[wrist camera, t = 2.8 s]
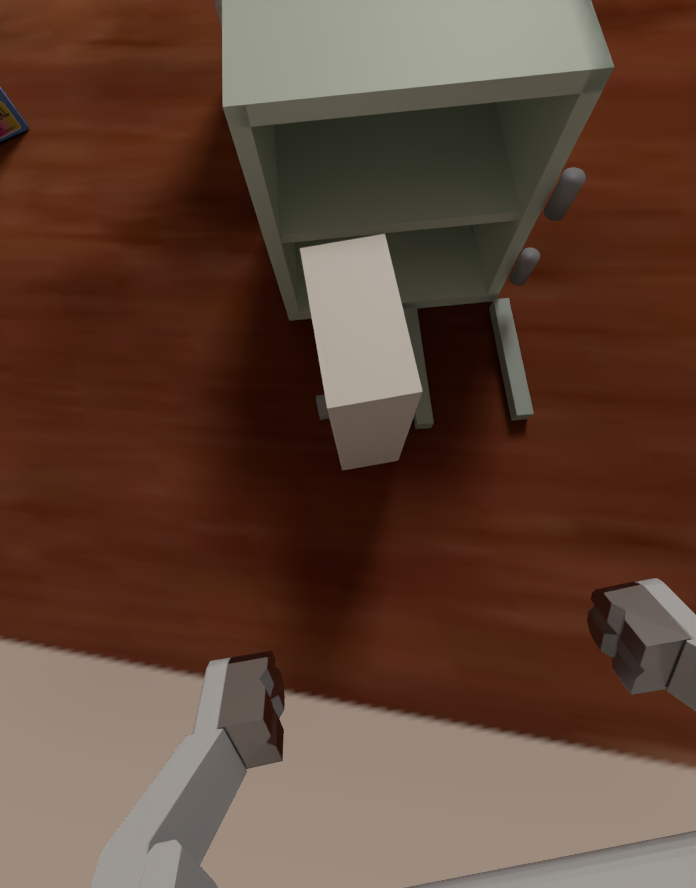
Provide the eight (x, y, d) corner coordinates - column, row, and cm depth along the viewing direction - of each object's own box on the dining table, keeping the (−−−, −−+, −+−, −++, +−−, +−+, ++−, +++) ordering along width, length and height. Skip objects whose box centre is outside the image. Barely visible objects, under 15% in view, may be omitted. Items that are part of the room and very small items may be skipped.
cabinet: (533, 418, 26) (716, 268, 13) (295, 440, 26) (224, 315, 13) (483, 182, 31) (575, -108, 18) (282, 202, 31) (221, -70, 18)
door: (398, 460, 26) (422, 391, 15) (333, 472, 26) (312, 411, 15) (376, 358, 28) (385, 233, 17) (316, 369, 28) (286, 250, 17)
